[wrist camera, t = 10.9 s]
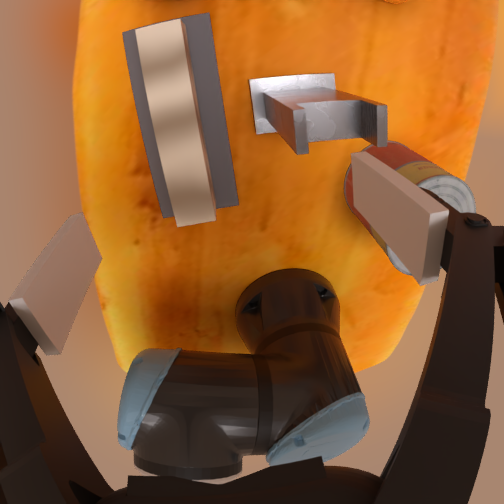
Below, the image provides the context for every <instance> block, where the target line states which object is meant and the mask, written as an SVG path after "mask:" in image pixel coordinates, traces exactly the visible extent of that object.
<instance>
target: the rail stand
mask: <svg viewBox="0 0 504 504" xmlns="http://www.w3.org/2000/svg"><path fill="white" fill-rule="evenodd" d="M249 84H250V92H251V99H252V107H253V114H254V122H255V130H256V134H263V133H271V132H278V133H279V134H280V135H281V137H282V138H283V139H284V140H285V141H286V142H287V144H288V145H289V146H290V147H291V148H292V149H293V151H294V152H295V153H296V154H297V155H299V154H307V153H309V149H308V142H315V141H325V140H337V139H350V138H363V139H365V140H366V141H368V142H370V143H371V144H373V145H374V146H376V147H387V105H385V104H382V103H379V102H375V101H372V100H369V99H366V98H362V97H359V96H356V95H352V94H349V93H345V92H341V91H338V90H335V77H334V73H322V74H302V75H288V76H277V77H266V78H257V79H249Z"/></svg>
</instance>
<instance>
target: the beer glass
mask: <svg viewBox="0 0 504 504" xmlns="http://www.w3.org/2000/svg"><path fill="white" fill-rule="evenodd" d="M384 1H386V2H388V3H393V4H400V3H404V2H406V1H408V0H384Z"/></svg>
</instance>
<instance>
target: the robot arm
mask: <svg viewBox="0 0 504 504" xmlns="http://www.w3.org/2000/svg"><path fill="white" fill-rule="evenodd" d="M351 160H352V177H353V199H354V207H355V208H356V209H357V210H358V211H359V212H360V214H361V215H362V216H363V217H364V218H365V219H366V220H367V221H368V223H369V224H370V225H371V226H372V227H373V228H374V230H375V231H376V232H377V233H378V234H379V235H380V237H381V238H382V239H383V240H384V241H385V242H386V244H387V245H388V246H389V247H390V248H391V250H392V251H393V252H394V253H395V254H396V256H397V257H398V258H399V259H400V261H401V262H402V263H403V264H404V266H405V267H406V268H407V269H408V271H409V272H410V273H411V274H412V276H413V277H414V278H415V279H416V281H417V282H418V283H419V285H420V286H421V285H425V284H428V283H432V282H434V281H437V280H438V277H439V272H440V267H442V268H443V269H444V270H445V271H446V273H447V274H446V278H445V283H444V288H443V292H442V296H441V303H440V308H439V313H438V317H437V321H436V325H435V329H434V333H433V337H432V341H431V344H430V348H429V351H428V355H427V358H426V362H425V365H424V368H423V372H422V375H421V378H420V381H419V384H418V387H417V390H416V393H415V396H414V399H413V402H412V404H411V407H410V410H409V412H408V415H407V418H406V420H405V423H404V426H403V428H402V430H401V433H400V435H399V438H398V440H397V442H396V445H395V447H394V449H393V451H392V453H391V456H390V457H389V459H388V462H387V464H386V466H385V468H384V470H383V472H382V474H381V476H380V477H378V476H376V475H374V474H371V473H369V472H366V471H362V470H359V469H354V468H349V467H341V466H324V464H323V462H326V461H328V460H330V459H332V458H334V457H337V456H339V455H340V454H342V453H344V452H346V451H347V450H349V449H350V448H352V447H353V446H355V445H356V444H357V443H358V442H359V441H360V440H361V439H362V438H363V437H364V436H365V434H366V433H367V430H368V428H369V424H370V420H369V415H368V411H367V407H366V403H365V396H364V394H363V393H362V392H361V389H360V387H359V384H358V381H357V379H356V376H355V373H354V371H353V368H352V366H351V363H350V361H349V358H348V355H347V353H346V350H345V348H344V345H343V343H342V341H341V338H340V335H339V333H340V305H339V300H338V298H337V295H336V293H335V291H334V289H333V287H332V285H331V284H330V282H329V281H328V280H327V279H326V278H324V277H323V276H321V275H320V274H318V273H315V272H312V271H309V270H304V269H285V270H280V271H276V272H273V273H270V274H267V275H265V276H263V277H261V278H259V279H258V280H256V281H255V282H253V283H252V284H251V285H250V286H249V287H248V288H247V289H246V290H245V291H244V292H243V293H242V295H241V297H240V298H239V300H238V303H237V306H236V323H237V329H238V332H239V334H240V336H241V338H242V340H243V341H244V343H245V345H246V347H247V348H248V350H249V352H250V353H251V354H235V353H216V352H200V351H186V350H182V348H177V349H153V348H151V349H145V350H143V351H141V352H140V353H139V354H138V355H137V356H136V357H135V358H134V360H133V361H132V363H131V365H130V368H129V371H128V373H127V376H126V379H125V383H124V387H123V390H122V395H121V400H120V406H119V413H118V424H117V428H118V441H119V444H120V445H121V446H122V447H124V448H126V449H127V450H132V449H133V451H134V466H135V468H136V469H137V470H138V471H139V472H140V473H141V474H142V475H143V476H128V484H127V487H125V488H122V489H119V490H117V491H114V490H113V489H112V488H111V487H110V486H109V485H108V484H107V482H106V481H105V479H104V478H103V476H102V475H101V473H100V472H99V471H98V469H97V467H96V466H95V464H94V463H93V461H92V460H91V458H90V456H89V455H88V453H87V451H86V450H85V448H84V446H83V444H82V443H81V441H80V439H79V438H78V436H77V434H76V432H75V430H74V429H73V427H72V425H71V423H70V421H69V419H68V417H67V416H66V414H65V412H64V410H63V408H62V406H61V404H60V401H59V399H58V398H57V395H56V393H55V391H54V389H53V387H52V384H51V382H50V380H49V378H48V375H47V374H46V371H45V369H44V366H43V364H42V361H41V359H40V357H39V356H38V355H37V354H36V353H35V351H36V349H37V346H38V345H39V346H40V348H41V349H42V350H43V352H44V353H45V354H46V355H58V354H61V353H62V350H63V347H64V344H65V342H66V340H67V337H68V335H69V332H70V329H71V327H72V324H73V322H74V320H75V317H76V315H77V313H78V310H79V308H80V306H81V303H82V301H83V299H84V297H85V294H86V292H87V290H88V288H89V286H90V283H91V281H92V279H93V277H94V275H95V273H96V271H97V269H98V267H99V264H100V262H101V260H102V257H101V254H100V252H99V250H98V248H97V245H96V243H95V241H94V239H93V236H92V234H91V231H90V229H89V227H88V224H87V222H86V219H85V217H84V215H83V212H81V213H78V214H75V215H72V216H70V217H69V218H68V219H67V220H66V222H65V223H64V224H63V225H62V227H61V228H60V229H59V230H58V231H57V233H56V234H55V235H54V237H53V238H52V239H51V241H50V242H49V243H48V244H47V246H46V247H45V248H44V250H43V251H42V252H41V254H40V255H39V256H38V258H37V259H36V261H35V262H34V263H33V265H32V266H31V268H30V269H29V270H28V272H27V273H26V275H25V276H24V278H23V279H22V280H21V282H20V283H19V285H18V287H17V288H16V290H15V291H14V293H13V294H12V296H11V297H10V299H9V302H8V304H7V306H6V307H5V309H4V307H3V306H2V304H1V303H0V504H468V501H469V498H470V496H471V492H472V490H473V486H474V483H475V480H476V477H477V474H478V470H479V467H480V463H481V459H482V456H483V452H484V448H485V443H486V439H487V435H488V430H489V425H490V417H491V414H490V409H487V408H485V399H486V393H487V386H488V379H489V372H490V364H491V355H492V344H493V330H494V309H495V307H494V306H495V294H496V297H497V301H498V304H499V308H500V312H501V315H502V319H503V323H504V226H492V225H491V223H490V221H489V220H488V219H487V218H486V217H484V216H482V215H479V214H476V213H470V212H465V213H460V212H459V211H458V210H456V209H455V208H454V207H452V206H451V205H450V204H448V203H447V202H445V201H444V200H443V199H442V198H439V196H438V195H436V194H435V193H433V192H432V191H430V190H427V189H425V188H422V187H418V186H416V185H415V184H413V183H412V182H411V181H409V180H408V179H406V178H405V177H404V176H402V175H401V174H399V173H398V172H396V171H395V170H393V169H392V168H390V167H389V166H387V165H386V164H384V163H383V162H381V161H380V160H378V159H377V158H375V157H374V156H372V155H370V154H369V153H367V152H366V151H365V152H357V153H351ZM246 455H266V461H267V462H268V463H269V465H270V467H268V468H265V469H263V470H260V471H257V472H255V473H252V474H250V475H247V476H244V477H241V478H239V479H236V480H234V479H235V478H237V477H238V476H239V475H240V474H241V473H242V457H243V456H246Z"/></svg>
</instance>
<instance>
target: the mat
mask: <svg viewBox="0 0 504 504" xmlns="http://www.w3.org/2000/svg"><path fill="white" fill-rule="evenodd" d="M177 19H181V20H182V22H183V23H184V24H185V25H186V32H187V38H188V44H189V51H190V57H191V63H192V69H193V75H194V81H195V87H196V93H197V99H198V105H199V111H200V116H201V122H202V128H203V133H204V139H205V144H206V150H207V155H208V161H209V166H210V172H211V177H212V182H213V188H214V193H215V198H216V209H218V208H224V207H230V206H237V205H239V202H238V196H237V189H236V183H235V177H234V170H233V164H232V158H231V151H230V145H229V139H228V132H227V126H226V119H225V113H224V106H223V100H222V93H221V87H220V80H219V74H218V67H217V61H216V54H215V48H214V41H213V35H212V28H211V21H210V15H209V13H204V14H198V15H192V16H187V17H182V18H177ZM172 20H176V19H172ZM168 21H171V20H168ZM164 22H167V21H164ZM159 23H162V22H159ZM155 24H158V23H155ZM151 25H154V24H151ZM147 26H150V25H147ZM143 27H146V26H143ZM140 28H142V27H140ZM136 29H139V28H136ZM122 34H123V40H124V46H125V52H126V58H127V63H128V69H129V74H130V80H131V85H132V90H133V95H134V100H135V105H136V109H137V114H138V119H139V123H140V128H141V132H142V137H143V141H144V145H145V149H146V154H147V158H148V162H149V166H150V170H151V174H152V178H153V182H154V186H155V190H156V193H157V197H158V201H159V205H160V208H161V212H162V216H163V218H167V217H173V216H174V212H173V208H172V204H171V200H170V197H169V193H168V188H167V184H166V180H165V176H164V172H163V168H162V163H161V159H160V155H159V150H158V146H157V142H156V137H155V132H154V128H153V123H152V118H151V114H150V109H149V104H148V99H147V94H146V89H145V83H144V78H143V73H142V67H141V62H140V56H139V50H138V44H137V38H136V32H135V29H132V30H129V31H126V32H122Z"/></svg>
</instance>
